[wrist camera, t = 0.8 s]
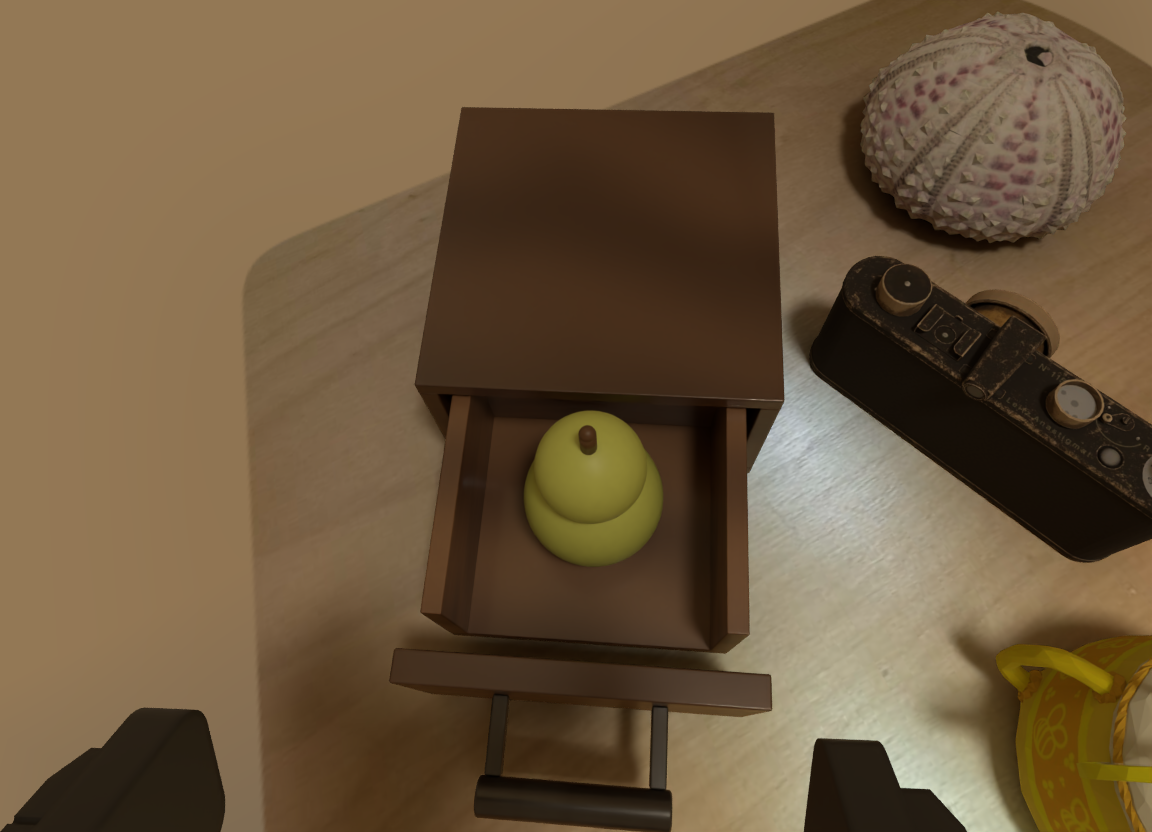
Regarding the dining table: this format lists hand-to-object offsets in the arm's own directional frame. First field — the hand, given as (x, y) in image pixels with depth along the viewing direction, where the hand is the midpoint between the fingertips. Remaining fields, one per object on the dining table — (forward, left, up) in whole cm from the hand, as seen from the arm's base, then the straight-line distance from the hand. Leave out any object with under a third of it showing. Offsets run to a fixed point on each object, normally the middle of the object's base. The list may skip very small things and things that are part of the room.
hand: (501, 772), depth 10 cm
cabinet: (0, +20, -25) cm, 32 cm away
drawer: (0, +7, -24) cm, 25 cm away
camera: (+18, +16, -25) cm, 35 cm away
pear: (0, +10, -23) cm, 25 cm away
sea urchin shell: (+20, +32, -25) cm, 46 cm away
